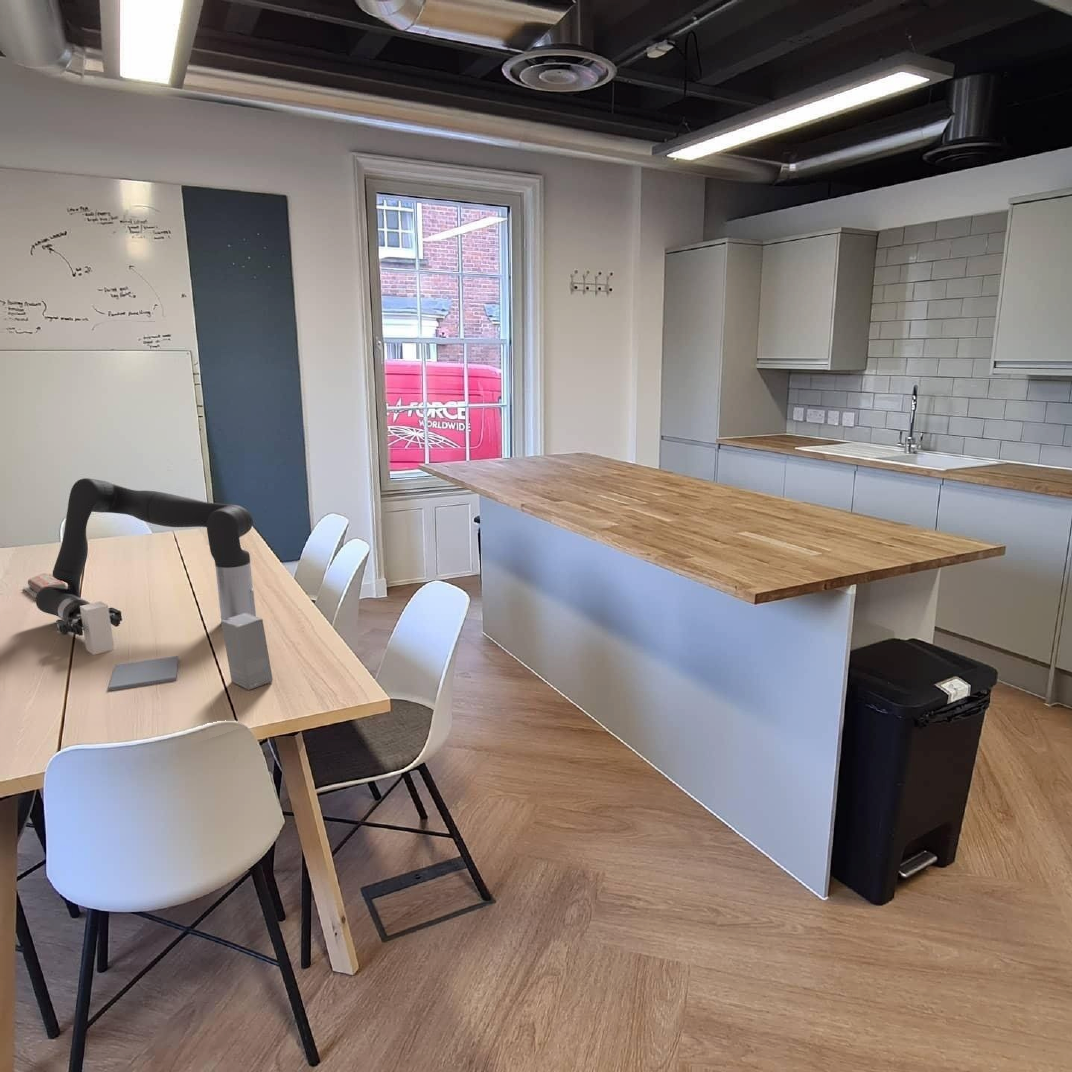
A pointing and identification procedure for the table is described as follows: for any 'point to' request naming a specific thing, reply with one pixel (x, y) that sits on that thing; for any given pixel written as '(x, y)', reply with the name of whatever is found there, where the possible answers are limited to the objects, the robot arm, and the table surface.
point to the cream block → (97, 627)
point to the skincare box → (247, 650)
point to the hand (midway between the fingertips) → (99, 627)
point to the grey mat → (144, 673)
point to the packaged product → (43, 583)
